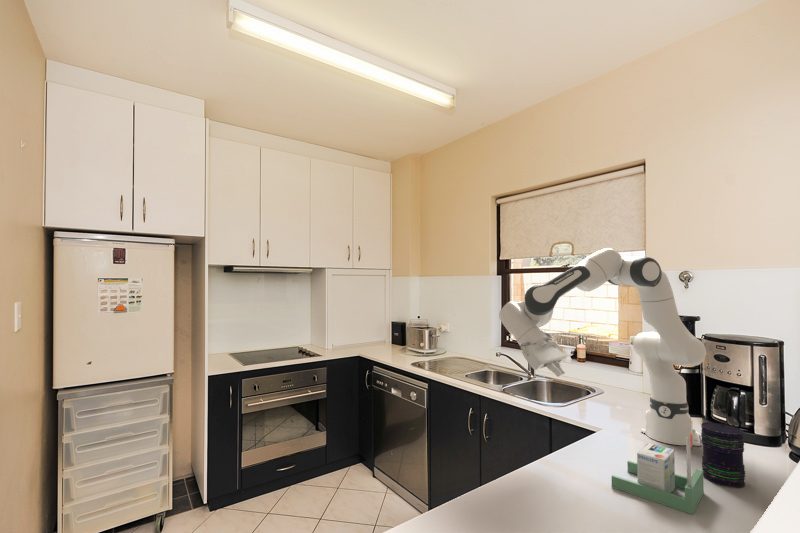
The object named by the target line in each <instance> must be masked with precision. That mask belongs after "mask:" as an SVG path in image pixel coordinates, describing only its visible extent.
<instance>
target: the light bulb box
mask: <svg viewBox="0 0 800 533" xmlns="http://www.w3.org/2000/svg"><path fill="white" fill-rule="evenodd" d="M636 459H637V460H636V463H637V474H638V475H637V474H636V475H637V483H640V484H643V485H646V486H649V487H652V488H655V489H658V490H662V491H665V492H668V493H671V494H672V492H674V490H675V489H676V486H675V474H676V473H675V471H676V470H675V469H676V468H675V449H673V448H669V447H665V446H660V445H656V444H652V443H647V444H646V445H645V446H644V447H643V448H641V450H639V451H638V452H637V453H636Z"/></svg>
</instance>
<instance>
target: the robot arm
mask: <svg viewBox="0 0 800 533" xmlns="http://www.w3.org/2000/svg"><path fill="white" fill-rule="evenodd" d="M606 282H608V283H609V284H611V285H614V286H622V287H635V288H636V289H637V292H638V297H639V298H638V299H639V304H640V309H641V312H642V317H643V319H644V322H646V323H647V324H648V325H650V326H651V327H652V328H653V329H654V330H655V331H643V332H639V333H638V334H636V335H635V337H634V339H633V341H632V342H633V343H632V344H633V349H634V350H633V351H634V352H635V353H636V354H637V355H638V356H639V357H640V358H641V359H642V361H643V362H644V364H645V368H646V369H647V372H648V375H649V379H650V380H649V381H650V398H649V407H650V408H649V409H647V410H646V411H645V423H644V427H643V428H640V433H642V432H643V433H642V434H644V433H645V434H644V435H646V436H647V437H649V438H650V439H652V440H654V441H658V442H661V443H664V444H668V445H669V444H670V445H675V446H687V445H686V437H688V436H689V435H690V434H691V433H692V438H693V446H695V447H697V446H700V447H701V444H702V443H701V439H700V433H699V431H697V430H696V429H694V428H693V420H692V417H691V415H690V414H689V413H690V412H689V403H688V401H687V382H686V380H685V379H684V377H683V376H681V374H679V373H678V372H677V371H676V369H675V367H674V365H678V366H682V367H690V366H691V367H693V366H694V367H695V366H699V365H701V364H702V363H703V362H704V361H705V359H706V356H707V350H706V349H707V348H706V346H705V344H704V343H703V342H702V340H700V339H698V338H697V337H695V335H693V334H692V333H691V332H690V331H689V329H688V328H687V327H686V325H685V324H684V323H683V321H682V320H681V317H680V315H679V312H678V307H677V304H676V301H675V300H676V299H675V296H674V291H673V288H672V286H671V283H670V281H669V278H668V276H667V274H666V273H665V271H663V270H662V268H661V266H660V264H659V262H658V261H657V260H656V259H654V258H653V257H648V256H633V255H632V256H630V255H629V256H626V257H625V256H623V257H622V256H621V254H620V253H619V252H618V251H617V250H615V249H613V248H610V247H607V248H603V249H601V250H597V251H596V252H594V253H592V254H590V255H589V256H586V257H585V258H584V259H582V260H581V261H579V262H578V263H577V264H575V265H574V266H573V267H571V268H569V269H567V270H566V271H564V272H562V273H561V274H559V275H557V276H556V277H554V278H552V279H551V280H549V281H546V282H543V283H539V284H535V285H533V286H531V287H530V288H528V289H527V290H526V292H525V294H524V301H513V300H511V301H508V302H506V303H505V304H504V305H503V306H502V307H501V309H500V311H499V319H500V321H501V324H502V325H503V326H504V327H505V329H506V330H507V331H508V332H509V334H511V336H513V337H514V339H515V340H516V342H517V343H518V345H519V347H520V350H521V351H522V352H521V354H522V355H523V357H524V358H525V360H526V362H527V363H528V364H529V366H530V367H531V368H532V369H533V370H540V369H543V368H547V369H548V370H549V371H551V372H552V373H553V374H554V375H555V376H556V377H562V376H564V375H565V373H566V372H565V371H564V370H563V368H562V366H561V365H562V364H561V363H562V362H564V361H565V360H566V359H568V358H567V354H566V352H565V351H564V350H563V348H562V347H561V346H560V345H559V344H558V342H556V340H554V337H553V335H552V334H551V333H547V332H545V331H543V330H541V329H540V328H541V327H543V326H546V325H547V324H548V323H549V322H550V321H551V320H552V316H553V312H554V309H555V306H556V304H557V302H558V300H559V299H560V298H561V297H563V296H564V295H567V293H569V292H570V291H572V290H574V289H575V288H577V289H578V290H581V291H584V292H591V291H594V290H596V289H597V288H600V287H601V286H602V285H604V284H605V283H606Z"/></svg>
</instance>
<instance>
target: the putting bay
mask: <svg viewBox="0 0 800 533" xmlns="http://www.w3.org/2000/svg"><path fill="white" fill-rule="evenodd" d="M685 446H686V473H687V474H686V476H684V475H680V474H677V473H675V488H676V487H677V488H680V489H683V490H684V497H683V496H681V495H676V494H675V493H672V492H671V493H668V492H665V491H662V490H658V489H655V488H652V487H649V486H646V485H643V484H640V483H638V482H635V481H633V480H629V479H626V478H623V477H620V476H617V475H615V474H612V475H611V488H614V489H616V490H619V491H623V492H626V493H628V494H632V495H633V496H637V497H640V498H642V499H644V500H645V499H646V500H648V501H652V502H655V503H657V504H660V505H663V506H667V507H669V508H672V509H675V510H678V511H681V512H684V513H686V514H690V515H693V514H694V513H695V511H696V509H697V506H698V505H699V503H700V501H701V500H702V497H703V496H704V493H705V490H704V484H705V483H704V477H703V469H698V468H696V469H695V471H693V473H692V461H691V460H692V455H691V453H692V452H691V450H692V449H691V448H692V447H693V446H694V445H693V438H692V433H691V434H690V435H689V436H688V437H686V445H685ZM627 472H628V473H632V474H634V475H637V476H638V474H637V462H635V461H632V460H627Z"/></svg>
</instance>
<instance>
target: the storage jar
mask: <svg viewBox="0 0 800 533" xmlns="http://www.w3.org/2000/svg"><path fill="white" fill-rule="evenodd" d="M700 424H701V425H700V427H701V433H700V434H701V436H700V437H701V439H700V442H701V444H702V458H701V459H702V460H701V467H702V471H703V479H704V480H707V481H708V482H710V483H712V484H715V485H718V486H721V487H725V488H730V489H742V488H745V487H746V483H745V480H746V471H745V464H744V452H745V448H744V445H745V440H744V430H742V429H741V428H739V427H736V426H734V425H729V424H725V423H718V422H710V421H709V422H702V423H700Z"/></svg>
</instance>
